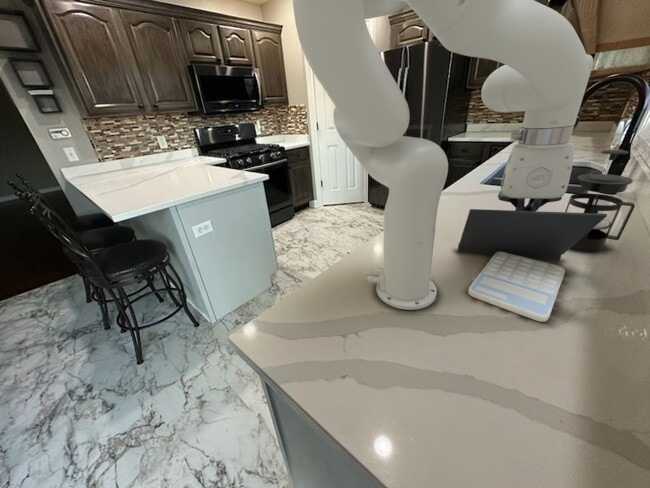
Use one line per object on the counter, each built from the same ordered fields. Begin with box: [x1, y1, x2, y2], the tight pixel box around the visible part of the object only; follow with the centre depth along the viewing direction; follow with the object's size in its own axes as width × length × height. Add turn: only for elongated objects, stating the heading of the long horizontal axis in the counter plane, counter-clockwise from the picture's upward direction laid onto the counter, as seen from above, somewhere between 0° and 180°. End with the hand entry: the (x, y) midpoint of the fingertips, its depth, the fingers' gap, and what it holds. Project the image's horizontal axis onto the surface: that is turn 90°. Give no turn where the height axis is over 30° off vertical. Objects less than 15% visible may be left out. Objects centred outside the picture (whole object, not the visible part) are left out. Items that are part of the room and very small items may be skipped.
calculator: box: [467, 252, 566, 323], centre depth 55 cm, size 13×20×2 cm, turn 135°
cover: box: [458, 208, 608, 255], centre depth 57 cm, size 22×16×1 cm
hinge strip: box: [457, 243, 563, 262], centre depth 65 cm, size 22×1×2 cm, turn 68°
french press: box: [564, 149, 636, 253], centre depth 61 cm, size 12×9×23 cm
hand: (520, 225), depth 57 cm, fingers closed
